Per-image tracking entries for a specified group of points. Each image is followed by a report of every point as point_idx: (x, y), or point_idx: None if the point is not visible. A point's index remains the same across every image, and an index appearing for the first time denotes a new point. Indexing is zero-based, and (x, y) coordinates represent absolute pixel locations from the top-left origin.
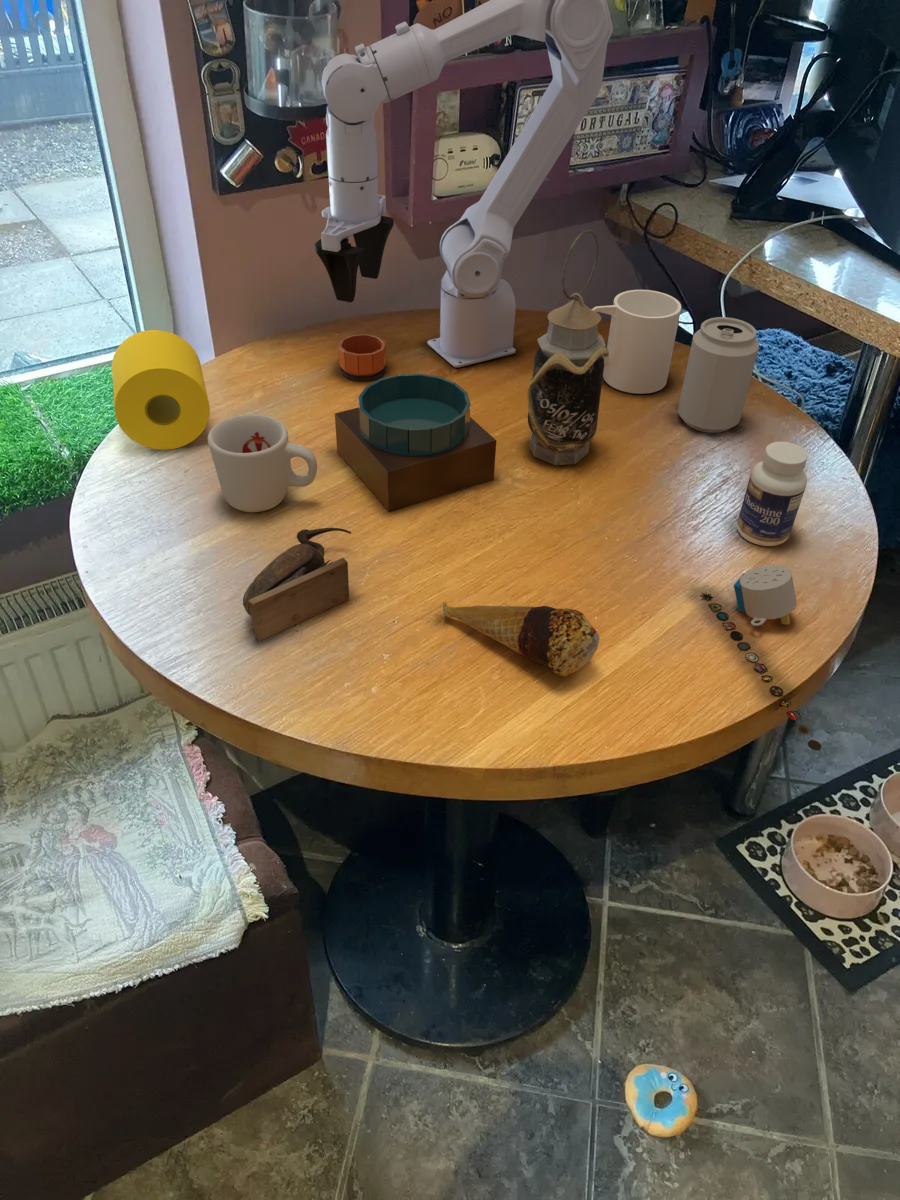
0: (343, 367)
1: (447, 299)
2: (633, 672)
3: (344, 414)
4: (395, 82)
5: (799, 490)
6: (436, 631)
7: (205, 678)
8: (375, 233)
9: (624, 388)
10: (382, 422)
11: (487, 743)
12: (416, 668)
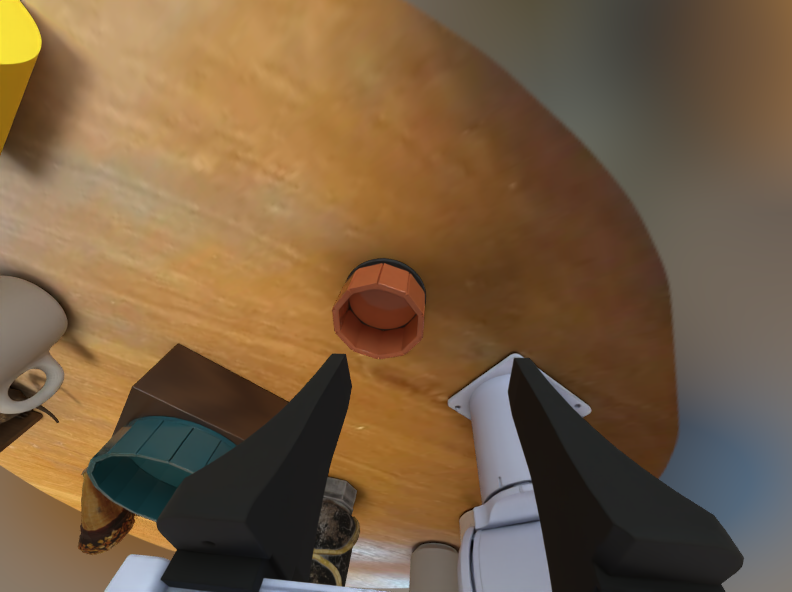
0: (344, 285)
1: (491, 480)
2: (152, 525)
3: (141, 396)
4: None
5: None
6: (80, 461)
7: None
8: (557, 551)
9: (460, 522)
10: (95, 482)
11: (49, 489)
12: (47, 459)
